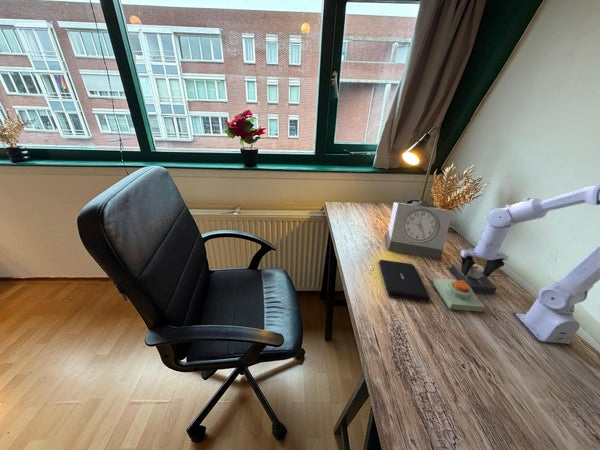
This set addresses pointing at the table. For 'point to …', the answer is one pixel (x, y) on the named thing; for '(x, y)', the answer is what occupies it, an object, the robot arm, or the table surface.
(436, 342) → the table surface
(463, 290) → the button
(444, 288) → the green button box
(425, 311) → the table surface
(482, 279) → the dial panel
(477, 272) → the temp dial
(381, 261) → the laptop
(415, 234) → the alarm clock
